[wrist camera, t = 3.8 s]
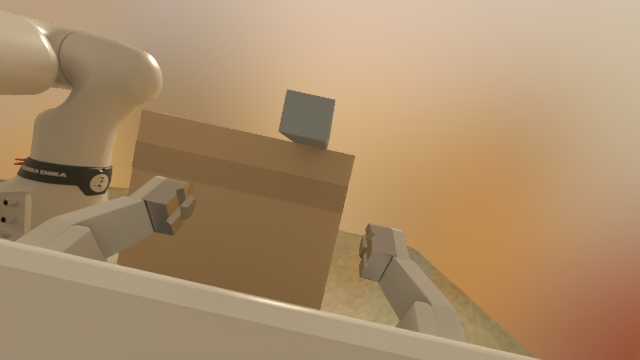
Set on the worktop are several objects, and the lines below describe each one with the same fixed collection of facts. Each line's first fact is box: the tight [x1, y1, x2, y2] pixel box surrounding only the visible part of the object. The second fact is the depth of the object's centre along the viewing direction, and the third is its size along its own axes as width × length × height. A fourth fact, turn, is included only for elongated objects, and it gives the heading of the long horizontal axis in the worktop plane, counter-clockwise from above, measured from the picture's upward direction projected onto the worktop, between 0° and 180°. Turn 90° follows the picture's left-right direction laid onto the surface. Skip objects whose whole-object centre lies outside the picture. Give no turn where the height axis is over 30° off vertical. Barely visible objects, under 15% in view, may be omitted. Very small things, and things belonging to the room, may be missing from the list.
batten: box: [279, 90, 335, 150], centre depth 28 cm, size 4×22×3 cm, turn 179°
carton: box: [117, 110, 355, 310], centre depth 33 cm, size 24×13×26 cm, turn 89°
